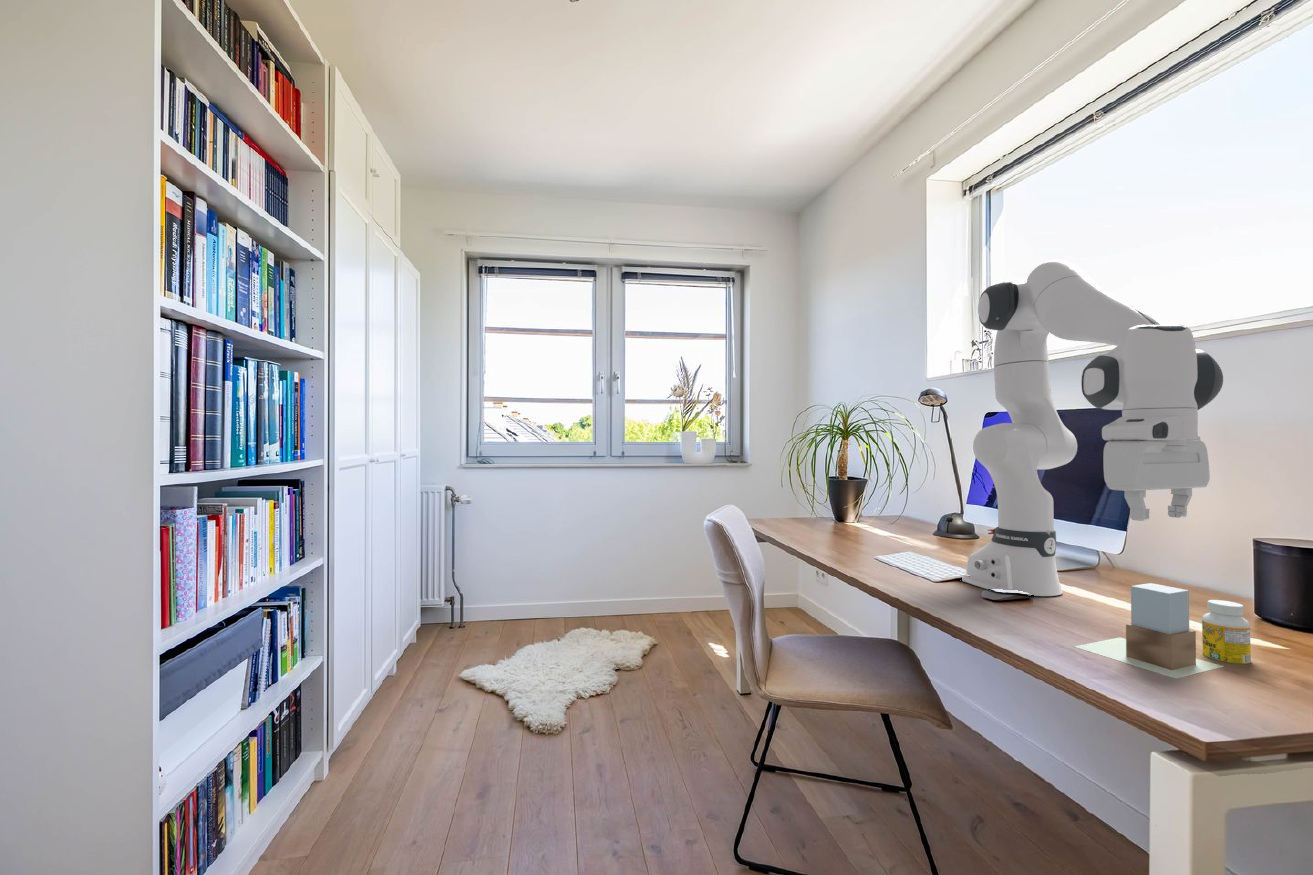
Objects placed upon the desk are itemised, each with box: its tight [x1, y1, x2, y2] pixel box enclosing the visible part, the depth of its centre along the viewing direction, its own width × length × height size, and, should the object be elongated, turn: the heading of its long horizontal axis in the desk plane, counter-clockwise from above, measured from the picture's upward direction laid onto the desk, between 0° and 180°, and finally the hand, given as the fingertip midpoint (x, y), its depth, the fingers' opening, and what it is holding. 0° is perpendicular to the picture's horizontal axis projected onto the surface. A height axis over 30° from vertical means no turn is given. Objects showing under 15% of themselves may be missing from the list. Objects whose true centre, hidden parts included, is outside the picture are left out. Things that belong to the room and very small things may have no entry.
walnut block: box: [1125, 622, 1197, 670], centre depth 90 cm, size 6×6×5 cm
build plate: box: [1073, 637, 1225, 680], centre depth 92 cm, size 14×12×1 cm
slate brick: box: [1130, 582, 1190, 634], centre depth 90 cm, size 5×5×6 cm
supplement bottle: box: [1201, 599, 1252, 665], centre depth 91 cm, size 5×5×10 cm
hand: (1158, 518), depth 90 cm, fingers open, 8 cm apart
